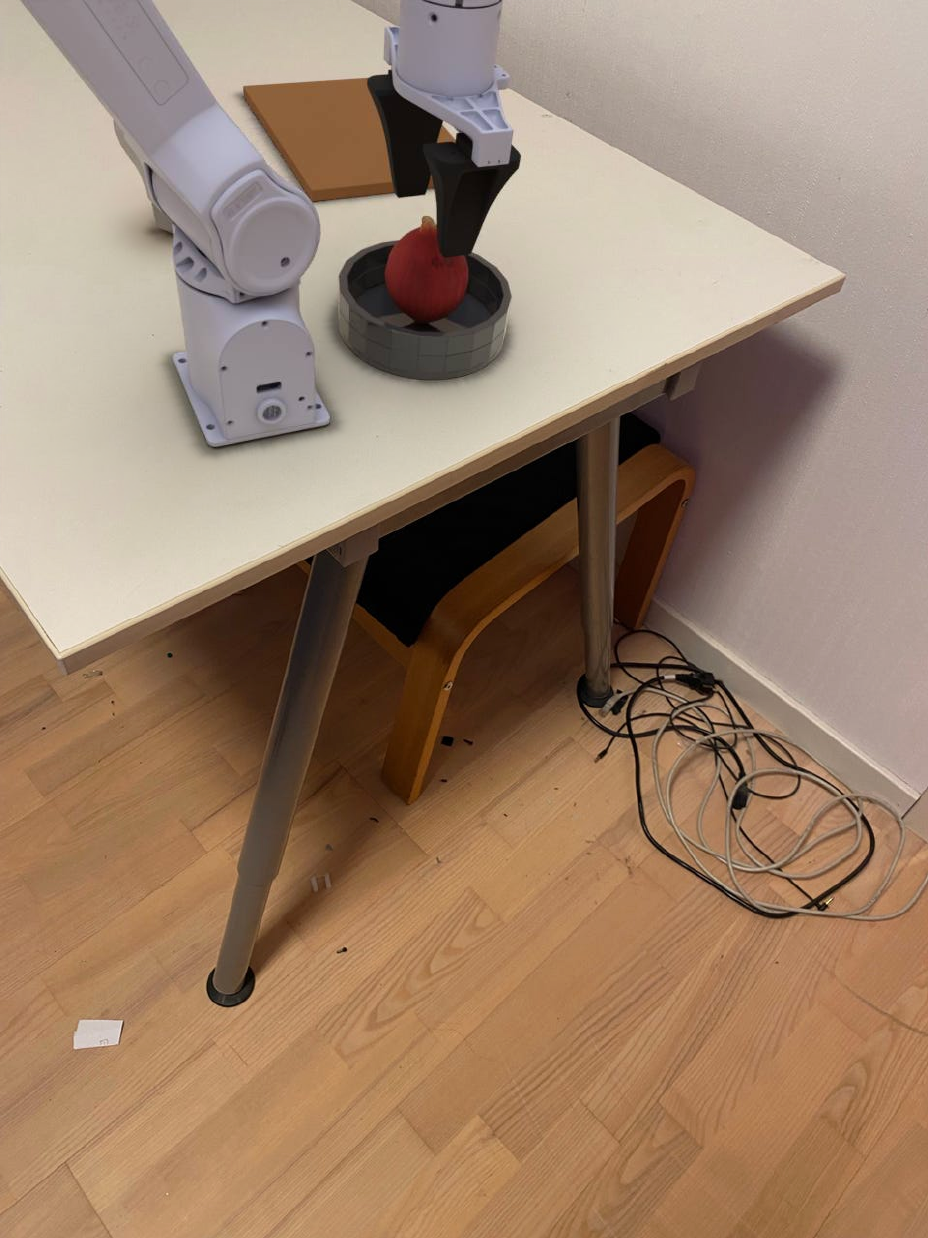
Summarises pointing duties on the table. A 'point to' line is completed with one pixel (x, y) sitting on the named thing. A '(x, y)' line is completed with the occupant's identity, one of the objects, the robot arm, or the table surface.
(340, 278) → the pan
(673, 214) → the table surface
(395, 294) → the onion
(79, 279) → the table surface
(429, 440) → the table surface
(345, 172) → the mat
